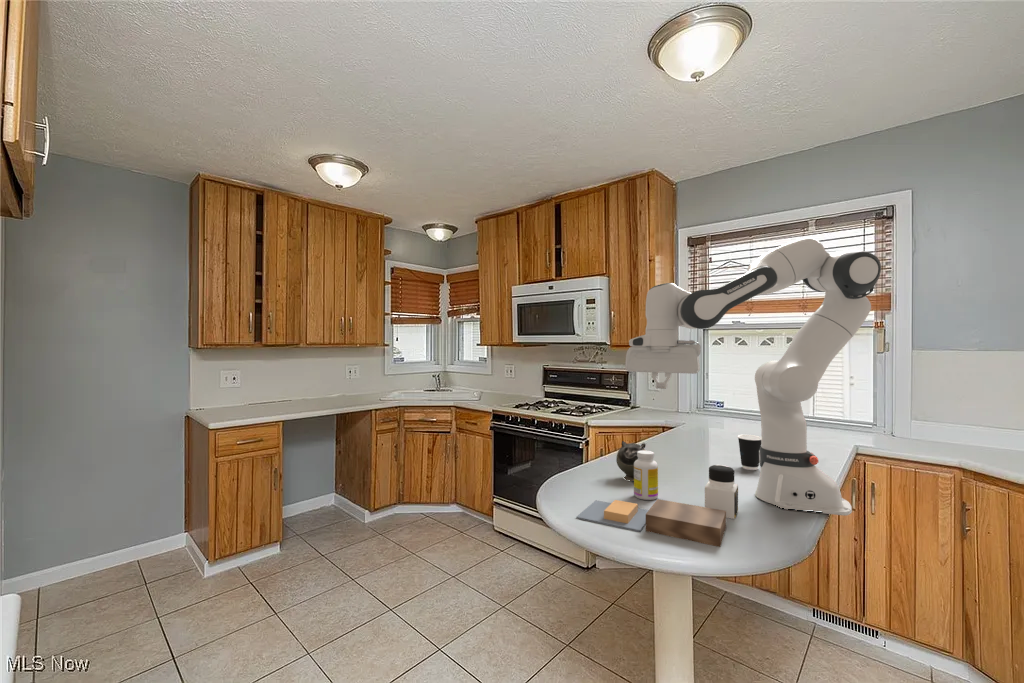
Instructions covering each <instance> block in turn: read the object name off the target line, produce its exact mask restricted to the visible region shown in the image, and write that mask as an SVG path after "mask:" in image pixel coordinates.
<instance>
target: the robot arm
mask: <svg viewBox="0 0 1024 683" xmlns="http://www.w3.org/2000/svg"><path fill="white" fill-rule="evenodd" d="M881 273H882V264H881V261H880V259H879V258H878V257H877V256H876V255H875V254H873V253H871V252H869V251H865V250H859V249H856V250H855V249H854V250H843V251H841V250H840V251H835V252H830V253H829V252H828V251H826V248H825V247H824V246H823V243H821V242H820V241H819V240H818V239H815V238H814V237H802V238H799V239H796V240H792V241H789V242H787V243H785V244H782V245H780V246H778V247H776V248H773V249H772V250H769V251H767V252H766V253H765V254H762V255H761V256H759V257H757V259H755V260H754V261H752V262H751V263H750V264H749V265H748V268H747V270H746V272H745V273H744V274H742V275H741V276H739V277H737V278H735V279H733V280H731V281H730V282H726V283H725V284H723V285H721V286H719V287H717V288H716V287H715V288H714V289H701V290H696V291H694V292H690V291H687V290H684V289H683V288H681V287H679V286H677V284H675V283H673V282H665V283H661V284H657V285H654V286H651V288H649V290H648V291H647V292H646V293H647V294H646V296H645V297H646V299H645V319H646V326H645V334H644V335H643V334H642V335H639V336H637V337H633V338H631V339H629V341H628V345H629V346H630V347H629V348H628V349H627V351H626V354H625V362H624V363H625V370H626V371H627V372H628V373H629V372H630V373H631V372H635V373H651V378H652V379H653V380H654V383H655V389H658V390H659V389H661V390H662V389H663V390H667V389H668V383H669V381H670V380H671V378H672V374H688V375H689V374H694V375H696V374H698V373H699V372H700V370H701V366H700V357H699V356H700V355H701V345H700V343H699V342H697V341H695V340H693V339H689V340H685V339H684V340H682V339H679V327H682V328H685V329H690V330H691V329H692V330H693V329H695V330H696V329H698V330H699V329H700V330H703V329H704V330H706V329H710V328H711V327H714V326H715V325H716V324H718V323H719V322H720V321H721V319H722V318H723V317H724V316H725V314H727V313H728V312H729V311H730V310H731V309H733V308H734V307H737V306H739V305H741V304H742V303H745V302H747V301H749V300H750V299H752V298H754V297H757V296H760V295H769V294H773V293H776V292H779V291H782V290H784V289H787V288H789V287H791V286H793V285H795V284H797V283H799V282H801V281H802V282H803V283H804V284H805V285H806V286H807V288H809V289H810V290H813V291H815V292H818V293H825V295H824V299H823V300H822V301H823V302H822V303H821V305H820V306H819V307H818V308H817V309H816V310H815V311H814V313H813V314H812V315H811V316H810V317H808V319H807V320H806V322H804V324H803V325H802V326H801V327H800V329H798V330H797V332H796V333H795V334H794V335H793V336H792V340H791V342H790V344H789V346H788V347H787V349H786V351H785V353H784V354H783V356H782V357H781V358H780V359H779V360H776V359H775V360H769V361H766V362H765V363H763V364H761V365H760V366H759V367H758V368H757V369H756V371H755V373H754V382H755V385H756V393H757V394H756V395H757V402H758V408H759V413H760V424H761V425H760V427H761V430H760V431H761V434H760V437H761V446H760V450H759V467H760V469H759V470H760V471H759V477H758V483H757V487H756V490H755V493H754V495H755V497H756V498H758V500H761V501H763V502H765V503H769V504H771V505H774V506H775V505H776V506H775V507H777V506H778V508H779V507H780V508H779V509H782V508H784V509H783V510H788V509H796V510H795V511H797V510H813V511H822V512H823V513H822V514H825V515H827V514H828V515H834V516H835V515H836V516H850V515H851V514H852V513H853V509H852V505H851V503H850V502H849V501H848V500H847V499H845V498H843V496H842V494H841V490H840V486H839V485H838V483H837V481H835V479H834V478H832V477H831V476H829V475H828V474H827V473H826V472H824V471H823V470H822V469H820V468H819V467H818V466H816V465H817V464H818V463H819V458H818V456H816V455H815V454H814V453H813V452H810V451H809V450H808V449H807V448H808V446H807V444H808V438H807V437H808V436H807V435H808V434H807V433H808V428H807V427H808V425H807V421H806V417H805V416H804V412H803V408H802V407H803V406H802V403H801V402H804V401H808V400H810V399H811V398H812V397H813V396H814V395H816V394H817V391H818V387H819V383H820V381H821V380H822V378H823V376H824V374H825V373H826V371H827V369H828V367H829V365H830V364H831V362H832V361H833V360H834V359H835V357H836V356H837V355H838V354H839V353H840V351H842V349H843V348H844V347H845V346H846V345H847V344H848V343H849V341H851V339H852V338H853V337H854V335H856V333H857V332H858V331H859V329H860V328H861V327H862V325H863V324H864V323H865V320H866V319H867V318H868V316H869V314H870V312H871V310H872V303H871V301H870V299H869V298H868V297H867V296H869V295H870V294H871V293H872V292H873V291H874V290H875V288H874V287H875V285H876V284H877V282H878V281H879V278H880V275H881ZM660 373H664V377H665V380H664V381H660V380H659V379H658V377H659V374H660Z"/></svg>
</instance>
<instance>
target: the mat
mask: <svg viewBox="0 0 1024 683" xmlns="http://www.w3.org/2000/svg"><path fill="white" fill-rule="evenodd" d="M611 503H612V502H608V501H604V500H603V501H602V500H597V499H596V500H594V501H593V502H592V503H591V504H589V505H588V506H587V507H586V508H585V509H583V510H582V511H581V512H580V513H579V514H578V515H577V516H575V517H576V519H577V518H578V520H582V521H588V522H591V523H597V524H601V525H606V526H610V527H615V528H620V529H624V530H629V531H635V532H639V533H641V532H642V530H643V529H644V528H645V527H646V513H647V512H648V511H649V509H645V508H641V507H640V508H639V507H638V512H637V513H636V514H635V516H634V517H633V518H632V519H631V520H630V522H629V523H623V522H618V521H613V520H608V519H604V510H605V509H606V508H607V507H608V506H609V505H610V504H611Z"/></svg>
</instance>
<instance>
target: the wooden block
mask: <svg viewBox="0 0 1024 683" xmlns="http://www.w3.org/2000/svg"><path fill="white" fill-rule="evenodd" d="M655 500H656V501H655V502H654V503H653V504H652V506H650V508H649V509H648V510H649V511H648V512H647V513H646V525H645V532H646V533H647V532H648V533H652V534H656V535H661V536H666V537H672V538H675V539H680V540H685V541H688V542H689V541H690V542H695V543H699V544H704V545H709V546H714V547H719V548H721V546H722V544H723V543H722V542H723V540H724V536H725V532H726V530H727V518H726V511H724V510H718V509H712V508H707V507H705V506H702V505H701V506H700V505H695V504H694V505H693V504H689V503H683V502H677V501H671V500H665V499H661V498H660V499H659V498H656V499H655Z"/></svg>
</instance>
